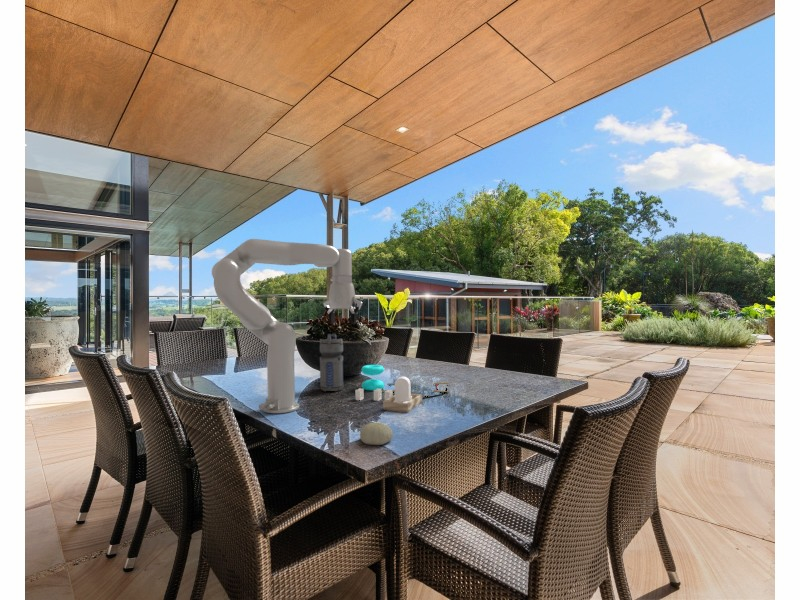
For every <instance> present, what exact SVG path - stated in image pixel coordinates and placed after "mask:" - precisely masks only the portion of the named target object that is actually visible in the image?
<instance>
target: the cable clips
mask: <svg viewBox="0 0 800 600" xmlns="http://www.w3.org/2000/svg"><path fill="white" fill-rule="evenodd" d="M382 389H383V388H382ZM382 389H376V390H373V401H374V402H375V401H376V402H379V401H381V400H382V399H383V398H382V391H383V390H382ZM393 390H394V389H393ZM393 390H392V389H387V391H385V390H384V391H385V392H384V401H385V400H387V399H388V398H390V397H392V396H394V395H393ZM354 391H355V393H354V394H355V401H359V400H360V401H362V400H364V391H365V389H363V388H358V389H355V390H354Z"/></svg>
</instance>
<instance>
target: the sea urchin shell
mask: <svg viewBox="0 0 800 600" xmlns="http://www.w3.org/2000/svg"><path fill="white" fill-rule="evenodd" d="M393 435H394V433H393V430H392V428H391V427H390V426H388V425H387V424H384V423H381V422H375V421H374V422H369V423H367V424H365V425H364V426H363V427H362V428H361V429H360V432H359V437H360V441H361V442H362V443H364V444H365V445H370V446H371V445H372V446H373V445H374V446H381V445H384V444H387V443H388V442H390V441H391V440H392V439H393Z"/></svg>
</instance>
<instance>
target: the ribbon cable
mask: <svg viewBox="0 0 800 600" xmlns="http://www.w3.org/2000/svg"><path fill="white" fill-rule="evenodd" d="M434 384H436V385H435V386H436V388H437V386H438V385H439V384H449V385H450V383H449V382H434V383H433V385H434ZM386 385H387V386H388V387H389V386H390V387H389V388H391V387H392V386H393V385H394V386H395V382H393V383H387V384H386ZM387 390H388V389H387ZM387 390H382V392H384V393H385V391H387ZM393 392H395V389H393ZM433 392H441V393H444V392H447V393H449V392H450V393H451V391H450V390H448V391H443V390H442V391H437V389H436V390H433V391H432V393H433ZM441 393H439V394H433V396H432V395H431V396H428V397H427V395H425V396H426V397H422V399H426V398H431V397H436V396H437V397H439V395H440V396H441ZM447 393H446V394H447ZM450 393H449V394H450ZM394 395H395V393H393V396H394ZM435 395H436V396H435Z"/></svg>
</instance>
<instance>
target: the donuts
mask: <svg viewBox="0 0 800 600" xmlns="http://www.w3.org/2000/svg"><path fill="white" fill-rule="evenodd" d="M384 371H385V368H384V366H383V365H381V364H367V365H363V366H362V367H361V372H362V373H363V375H366V376H378V375H381V374H383V372H384ZM384 386H385V383H384V381H382V380H380V379H375V378H374V379H373V378H371V379H366V380H364V381H362V383H361V389H364V391H365V390H366V391H374V390H376V389H383V388H384Z"/></svg>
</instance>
